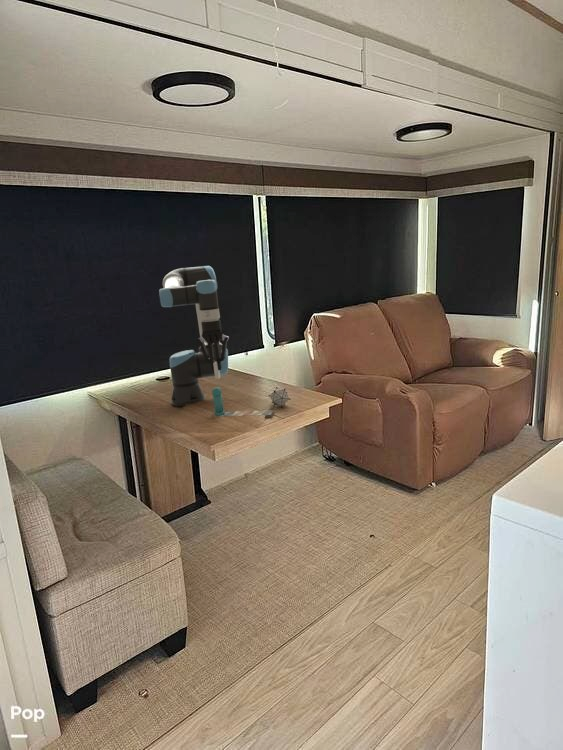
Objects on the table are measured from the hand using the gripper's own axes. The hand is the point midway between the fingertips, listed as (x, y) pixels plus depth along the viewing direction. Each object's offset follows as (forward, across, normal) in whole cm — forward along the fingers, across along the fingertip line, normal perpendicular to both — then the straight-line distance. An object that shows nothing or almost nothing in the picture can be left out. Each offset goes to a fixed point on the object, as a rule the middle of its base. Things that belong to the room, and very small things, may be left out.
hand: (217, 377), depth 202 cm
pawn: (+15, -1, -1) cm, 15 cm away
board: (+16, +9, -1) cm, 19 cm away
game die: (+17, +23, +10) cm, 30 cm away
